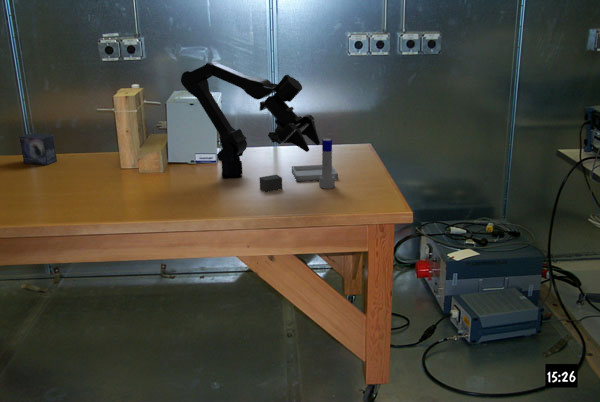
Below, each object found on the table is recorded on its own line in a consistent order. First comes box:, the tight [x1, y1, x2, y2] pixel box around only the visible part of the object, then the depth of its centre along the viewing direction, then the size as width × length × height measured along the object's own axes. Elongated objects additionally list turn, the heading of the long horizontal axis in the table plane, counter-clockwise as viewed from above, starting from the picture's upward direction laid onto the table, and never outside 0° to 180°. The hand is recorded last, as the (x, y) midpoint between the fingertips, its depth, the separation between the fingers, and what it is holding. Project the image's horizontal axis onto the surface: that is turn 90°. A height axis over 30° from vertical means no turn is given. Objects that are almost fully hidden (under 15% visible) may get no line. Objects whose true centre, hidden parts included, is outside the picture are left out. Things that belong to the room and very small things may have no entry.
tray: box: [291, 164, 339, 182], centre depth 213 cm, size 14×12×2 cm
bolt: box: [318, 138, 336, 190], centre depth 199 cm, size 16×5×5 cm
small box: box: [19, 132, 58, 166], centre depth 232 cm, size 11×6×10 cm, turn 73°
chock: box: [259, 174, 283, 193], centre depth 200 cm, size 6×4×4 cm, turn 118°
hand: (313, 147), depth 199 cm, fingers open, 9 cm apart
